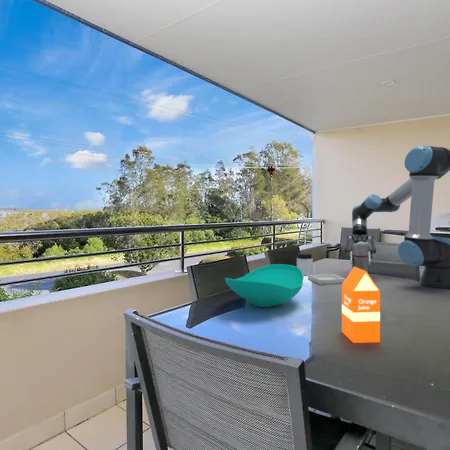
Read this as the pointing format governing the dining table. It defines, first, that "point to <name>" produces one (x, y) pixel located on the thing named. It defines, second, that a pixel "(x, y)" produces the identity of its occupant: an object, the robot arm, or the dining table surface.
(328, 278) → the tray
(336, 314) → the dining table surface
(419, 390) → the dining table surface
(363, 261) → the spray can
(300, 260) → the jar
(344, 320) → the orange juice
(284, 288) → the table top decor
